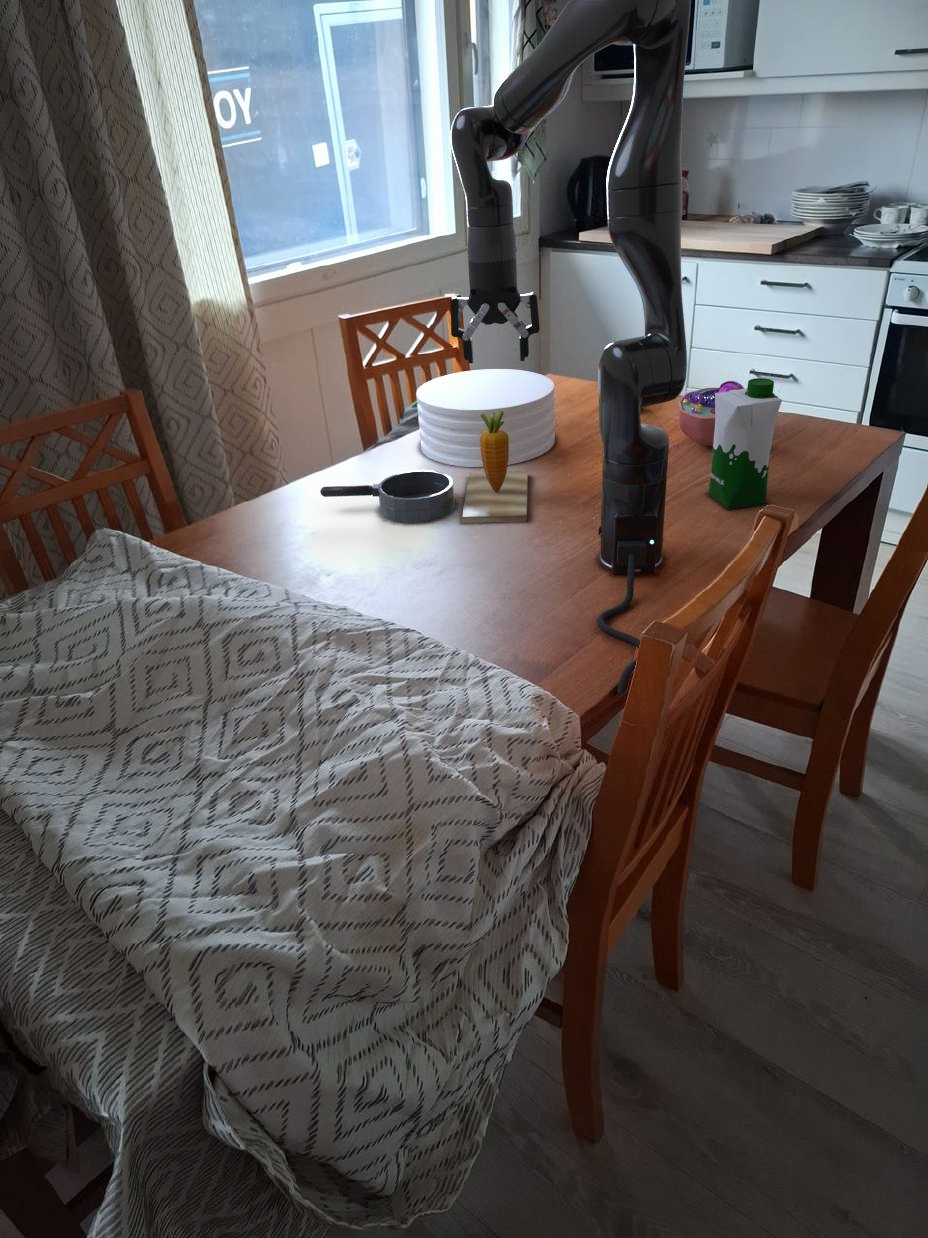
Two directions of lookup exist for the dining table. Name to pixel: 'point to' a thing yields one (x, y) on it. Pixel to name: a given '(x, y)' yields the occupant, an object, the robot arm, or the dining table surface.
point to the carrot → (494, 450)
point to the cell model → (701, 412)
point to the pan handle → (350, 490)
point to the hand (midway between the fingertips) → (496, 361)
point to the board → (496, 499)
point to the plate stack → (465, 395)
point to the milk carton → (743, 443)
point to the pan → (416, 496)
